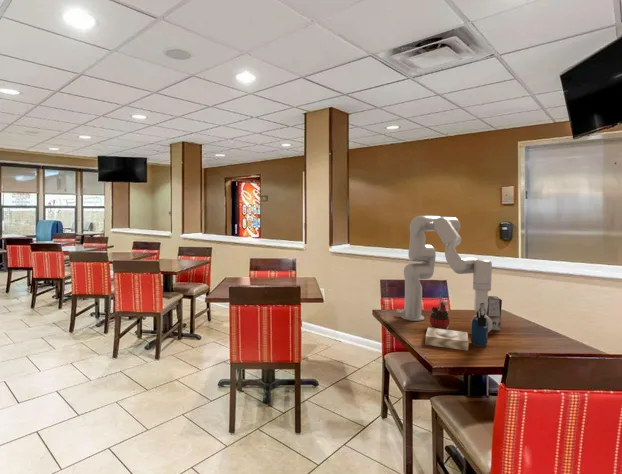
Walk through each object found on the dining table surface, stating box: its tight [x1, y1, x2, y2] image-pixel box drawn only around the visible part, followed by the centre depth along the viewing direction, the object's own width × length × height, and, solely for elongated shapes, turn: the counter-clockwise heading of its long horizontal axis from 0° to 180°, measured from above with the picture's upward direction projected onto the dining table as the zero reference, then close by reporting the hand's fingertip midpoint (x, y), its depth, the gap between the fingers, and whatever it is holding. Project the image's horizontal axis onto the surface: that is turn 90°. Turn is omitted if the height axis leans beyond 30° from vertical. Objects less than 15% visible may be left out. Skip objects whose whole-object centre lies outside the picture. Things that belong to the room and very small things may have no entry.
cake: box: [429, 294, 450, 330], centre depth 190 cm, size 11×9×18 cm
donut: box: [470, 314, 493, 333], centre depth 184 cm, size 10×4×10 cm, turn 66°
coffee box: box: [485, 295, 503, 331], centre depth 195 cm, size 9×6×16 cm
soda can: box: [470, 316, 489, 347], centre depth 169 cm, size 7×7×12 cm
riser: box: [424, 326, 469, 351], centre depth 170 cm, size 18×14×4 cm
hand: (480, 323), depth 168 cm, fingers open, 9 cm apart
